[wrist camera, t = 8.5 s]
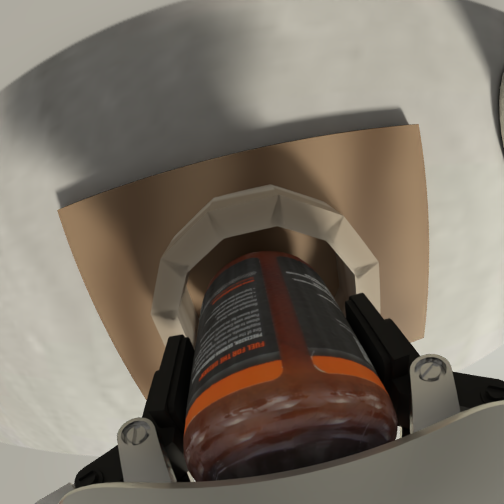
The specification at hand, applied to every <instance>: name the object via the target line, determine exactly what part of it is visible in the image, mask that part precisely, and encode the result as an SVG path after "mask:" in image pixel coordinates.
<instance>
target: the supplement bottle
mask: <svg viewBox="0 0 504 504" xmlns="http://www.w3.org/2000/svg"><path fill="white" fill-rule="evenodd" d="M397 423H398V421H397V415H396V412H395V409H394V407H393V404H392V401H391V399H390V397H389V395H388V393H387V391H386V389H385V387H384V385H383V383H382V382H381V380H380V378H379V376H378V374H377V372H376V370H375V369H374V367H373V365H372V363H371V361H370V360H369V358H368V356H367V354H366V352H365V351H364V349H363V347H362V345H361V344H360V342H359V340H358V338H357V337H356V335H355V333H354V331H353V330H352V328H351V326H350V325H349V323H348V321H347V320H346V318H345V316H344V314H343V313H342V311H341V309H340V307H339V306H338V304H337V302H336V301H335V299H334V297H333V296H332V294H331V293H330V291H329V289H328V288H327V286H326V284H325V283H324V281H323V280H322V278H321V277H320V276H319V275H318V273H317V272H316V271H315V270H314V269H313V268H312V267H311V266H310V265H309V264H307V263H306V262H305V261H303V260H302V259H300V258H298V257H296V256H294V255H291V254H288V253H284V252H279V251H259V252H252V253H248V254H245V255H243V256H240V257H238V258H236V259H234V260H232V261H231V262H229V263H228V264H226V265H225V266H224V267H223V268H221V269H220V270H219V271H218V272H217V274H216V275H215V276H214V277H213V278H212V280H211V281H210V283H209V285H208V287H207V289H206V292H205V295H204V299H203V302H202V307H201V312H200V318H199V325H198V332H197V339H196V345H195V352H194V358H193V366H192V372H191V380H190V387H189V395H188V401H187V409H186V419H185V430H184V439H183V449H184V458H185V462H186V465H187V468H188V471H189V473H190V474H191V476H192V477H193V478H194V479H195V481H196V482H203V481H217V480H228V479H238V478H246V477H254V476H261V475H267V474H273V473H279V472H284V471H290V470H295V469H299V468H304V467H308V466H313V465H317V464H321V463H325V462H329V461H333V460H336V459H340V458H343V457H347V456H350V455H354V454H357V453H360V452H363V451H366V450H369V449H372V448H375V447H378V446H381V445H384V444H386V443H389V442H392V441H394V440H395V439H396V435H397Z"/></svg>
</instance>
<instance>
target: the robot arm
mask: <svg viewBox="0 0 504 504" xmlns="http://www.w3.org/2000/svg"><path fill="white" fill-rule="evenodd" d="M499 110H500V125H501V135H502V140H503V146H504V73H503V76H502V81H501V86H500V98H499ZM345 312H346V320H347V321H348V323H349V325H350V326H351V328H352V330H353V331H354V333H355V335H356V337H357V338H358V340H359V342H360V344H361V345H362V347H363V349H364V351H365V352H366V354H367V356H368V358H369V360H370V361H371V363H372V365H373V367H374V369H375V370H376V372H377V374H378V376H379V378H380V380H381V382H382V383H383V385H384V387H385V389H386V391H387V393H388V395H389V397H390V399H391V401H392V404H393V407H394V409H395V412H396V415H397V421H398V423H397V426H400V439H397V440H394V441H392V442H389V443H386V444H384V445H381V446H378V447H375V448H372V449H369V450H366V451H363V452H360V453H357V454H354V455H350V456H347V457H343V458H340V459H336V460H333V461H329V462H325V463H321V464H317V465H313V466H308V467H304V468H299V469H295V470H290V471H284V472H279V473H273V474H267V475H261V476H254V477H246V478H238V479H228V480H217V481H203V482H194V480H193V478H192V476H191V474H190V473H189V471H188V468H187V465H186V462H185V458H184V449H183V439H184V430H185V419H186V409H187V401H188V395H189V387H190V380H191V372H192V366H193V358H194V352H195V350H194V348H193V345H192V343H191V340H190V338H189V337H185V336H184V335H183V334H181V335H175V336H170V337H169V338H168V340H167V344H166V347H165V351H164V354H163V358H162V361H161V365H160V368H159V370H157V371H156V372H155V373H154V376H153V380H152V383H151V387H150V390H149V394H148V398H147V401H146V405H145V408H144V412H143V416H142V418H140V417H138V418H134V419H131V420H129V421H127V422H126V423H124V424H123V425H122V426H121V428H120V429H119V431H118V433H117V442H118V445H117V446H115V447H114V448H113V449H111V450H110V451H108V452H107V453H105V454H104V455H102V456H101V457H99V458H98V459H96V460H95V461H93V462H92V463H90V464H89V465H87V466H86V467H84V468H83V469H82V470H80V471H79V472H78V474H77V475H76V478H75V483H74V484H71V483H68V484H67V485H65V486H63V487H61V488H60V489H58V490H56V491H54V492H53V493H51V494H49V495H47V496H46V497H44V498H42V499H40V500H39V501H37V502H36V503H35V504H504V381H502V380H499V379H493V378H487V377H481V376H474V375H469V374H462V373H457V372H452V368H451V365H450V363H449V361H448V360H447V359H446V358H444V357H442V356H440V355H436V354H426V355H422V356H420V355H419V354H418V352H417V351H416V350H415V348H414V347H413V346H412V345H411V343H410V342H409V341H408V339H407V338H406V337H405V336H404V334H403V333H402V332H401V330H400V329H399V328H398V327H397V325H396V324H395V323H394V322H393V320H392V319H390V318H388V319H385V320H384V319H383V317H382V316H381V315H380V313H379V312H378V311H377V309H376V308H375V307H374V306H373V304H372V303H371V302H370V300H369V299H368V298H367V297H366V295H365V294H364V293H359V294H355V295H352V296H349V300H347V301H345Z"/></svg>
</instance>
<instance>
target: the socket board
mask: <svg viewBox="0 0 504 504" xmlns="http://www.w3.org/2000/svg"><path fill="white" fill-rule="evenodd" d="M57 211H58V214H59V217H60V220H61V223H62V226H63V229H64V232H65V235H66V237H67V240H68V243H69V246H70V248H71V251H72V254H73V256H74V259H75V261H76V264H77V266H78V269H79V271H80V274H81V276H82V279H83V281H84V283H85V286H86V288H87V290H88V292H89V295H90V297H91V299H92V301H93V303H94V306H95V308H96V310H97V312H98V314H99V316H100V318H101V320H102V322H103V324H104V326H105V328H106V330H107V332H108V334H109V336H110V338H111V340H112V342H113V344H114V346H115V348H116V349H117V351H118V353H119V355H120V357H121V358H122V360H123V362H124V364H125V366H126V367H127V369H128V371H129V372H130V374H131V376H132V378H133V379H134V381H135V383H136V384H137V386H138V387H139V389H140V391H141V392H142V394H143V395H144V397H145V399H146V400H147V398H148V394H149V390H150V387H151V383H152V380H153V376H154V373H155V372H156V371H157V370H159V368H160V365H161V361H162V358H163V354H164V351H165V347H166V344H167V340H168V338H169V337H170V336H175V335H181V334H183V335H184V336H185V337H189V338H190V340H191V343H192V345H193V348H194V350H195V345H196V339H197V332H198V325H199V318H200V312H201V307H202V302H203V299H204V295H205V292H206V289H207V287H208V285H209V283H210V281H211V280H212V278H213V277H214V276H215V275H216V274H217V272H218V271H219V270H220V269H221V268H223V267H224V266H225V265H226V264H228V263H229V262H231V261H232V260H234V259H236V258H238V257H240V256H243V255H245V254H248V253H252V252H259V251H279V252H284V253H288V254H291V255H294V256H296V257H298V258H300V259H302V260H303V261H305V262H306V263H307V264H309V265H310V266H311V267H312V268H313V269H314V270H315V271H316V272H317V273H318V275H319V276H320V277H321V278H322V280H323V281H324V283H325V284H326V286H327V288H328V289H329V291H330V293H331V294H332V296H333V297H334V299H335V301H336V302H337V304H338V306H339V307H340V309H341V311H342V313H343V314H344V316H345V318H346V312H345V301H347V300H349V296H352V295H355V294H359V293H364V294H365V295H366V297H367V298H368V299H369V300H370V302H371V303H372V304H373V306H374V307H375V308H376V309H377V311H378V312H379V313H380V315H381V316H382V317H383V319H384V320H385V319H388V318H390V319H392V320H393V322H394V323H395V324H396V325H397V327H398V328H399V329H400V330H401V332H402V333H403V334H404V336H405V337H406V338H407V339H408V341H409V342H410V343H411V342H414V341H416V340H419V339H422V338H424V332H425V322H426V311H427V297H428V276H429V222H428V202H427V188H426V177H425V167H424V158H423V151H422V143H421V137H420V130H419V124H413V125H400V126H390V127H381V128H372V129H364V130H357V131H349V132H343V133H336V134H329V135H323V136H317V137H311V138H306V139H300V140H295V141H290V142H284V143H279V144H274V145H270V146H265V147H260V148H256V149H251V150H247V151H242V152H238V153H234V154H230V155H226V156H222V157H218V158H214V159H210V160H206V161H202V162H198V163H195V164H191V165H188V166H184V167H180V168H177V169H173V170H170V171H167V172H163V173H160V174H157V175H153V176H150V177H147V178H144V179H141V180H138V181H135V182H131V183H128V184H125V185H123V186H120V187H117V188H114V189H111V190H108V191H105V192H102V193H100V194H97V195H94V196H91V197H89V198H86V199H83V200H81V201H78V202H76V203H73V204H70V205H68V206H65V207H63V208H61V209H59V210H57Z"/></svg>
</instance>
